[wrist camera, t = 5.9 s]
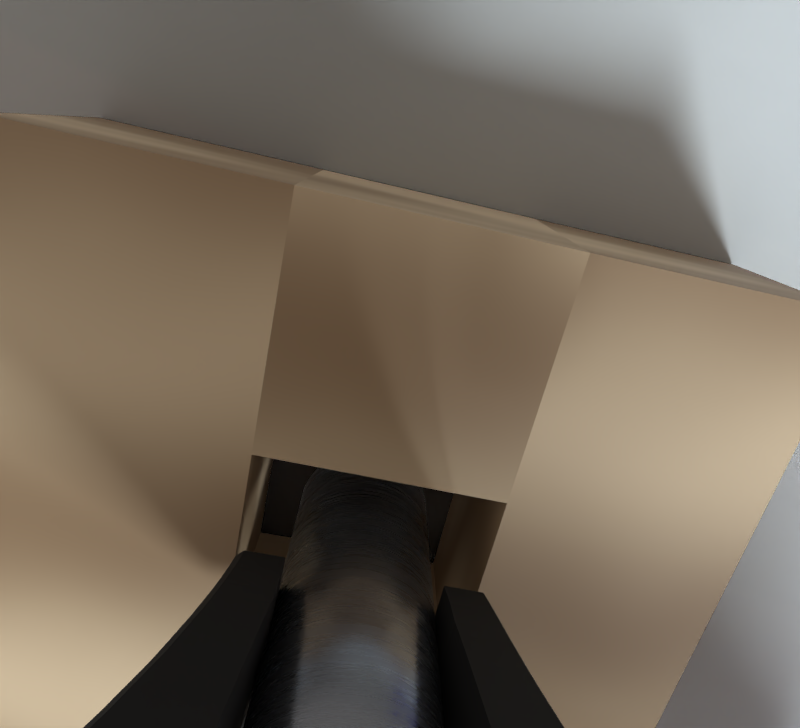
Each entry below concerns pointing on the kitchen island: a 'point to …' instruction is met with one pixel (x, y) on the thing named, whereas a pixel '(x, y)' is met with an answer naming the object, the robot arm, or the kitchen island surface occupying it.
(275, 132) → the kitchen island surface
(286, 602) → the long pin
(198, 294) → the bore block
